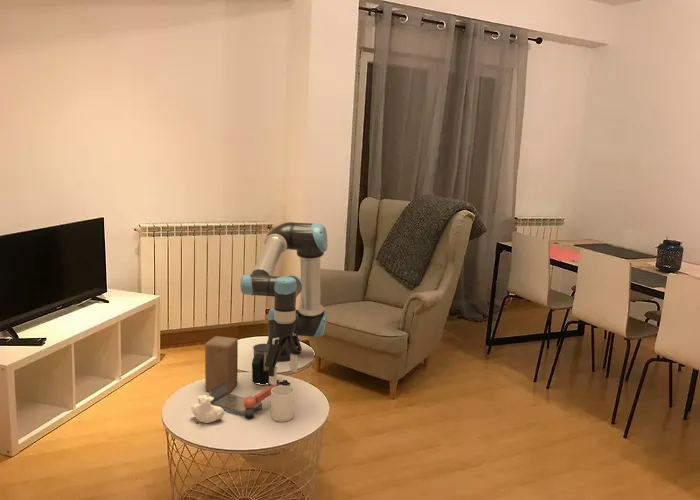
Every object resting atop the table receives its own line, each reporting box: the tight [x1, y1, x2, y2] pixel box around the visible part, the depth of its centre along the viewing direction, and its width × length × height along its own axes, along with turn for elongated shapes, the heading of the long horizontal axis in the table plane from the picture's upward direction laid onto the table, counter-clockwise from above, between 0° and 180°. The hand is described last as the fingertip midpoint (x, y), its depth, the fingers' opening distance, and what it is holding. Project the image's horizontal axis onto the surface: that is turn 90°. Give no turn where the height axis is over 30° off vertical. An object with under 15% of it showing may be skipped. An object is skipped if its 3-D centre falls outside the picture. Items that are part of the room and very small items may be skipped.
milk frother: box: [251, 343, 291, 386], centre depth 237 cm, size 14×16×15 cm
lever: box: [243, 378, 280, 408], centre depth 215 cm, size 20×4×6 cm, turn 153°
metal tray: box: [208, 382, 263, 420], centre depth 216 cm, size 10×20×6 cm, turn 63°
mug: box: [270, 385, 295, 423], centre depth 212 cm, size 12×8×10 cm
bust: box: [190, 394, 225, 424], centre depth 204 cm, size 12×8×11 cm
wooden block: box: [204, 335, 239, 394], centre depth 231 cm, size 10×10×20 cm
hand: (283, 377), depth 210 cm, fingers open, 13 cm apart
